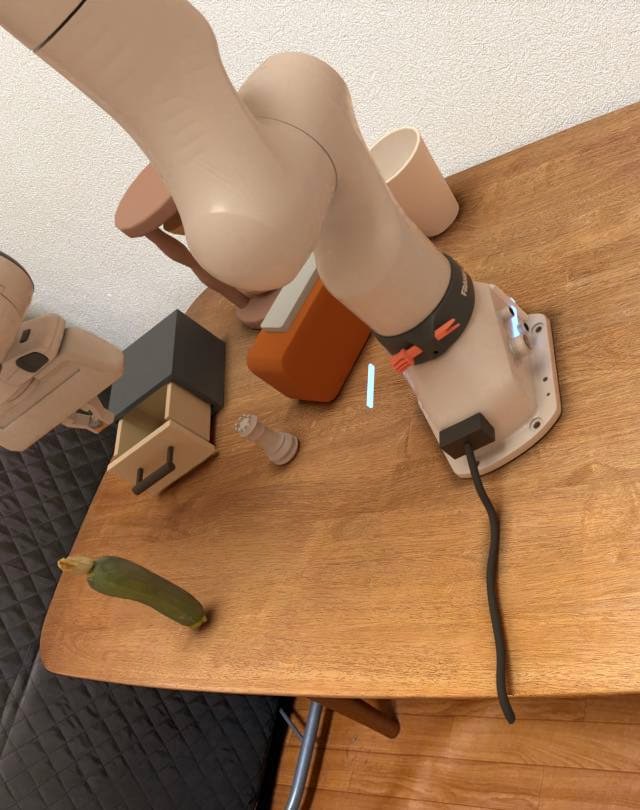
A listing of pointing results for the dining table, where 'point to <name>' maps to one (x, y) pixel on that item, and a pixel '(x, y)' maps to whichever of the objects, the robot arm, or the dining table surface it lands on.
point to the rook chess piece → (268, 439)
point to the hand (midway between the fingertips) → (106, 424)
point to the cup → (415, 179)
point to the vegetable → (137, 587)
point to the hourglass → (154, 207)
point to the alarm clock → (307, 340)
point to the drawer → (162, 438)
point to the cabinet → (170, 364)
